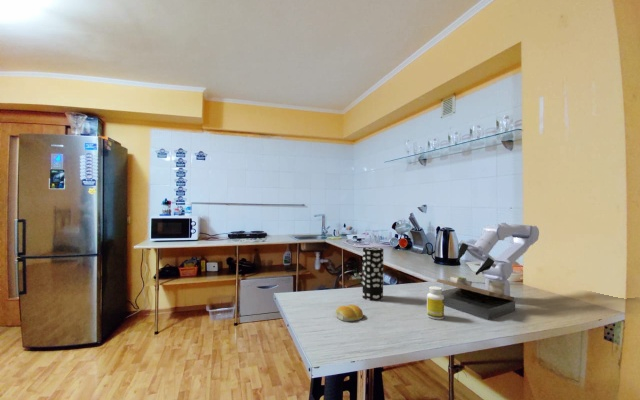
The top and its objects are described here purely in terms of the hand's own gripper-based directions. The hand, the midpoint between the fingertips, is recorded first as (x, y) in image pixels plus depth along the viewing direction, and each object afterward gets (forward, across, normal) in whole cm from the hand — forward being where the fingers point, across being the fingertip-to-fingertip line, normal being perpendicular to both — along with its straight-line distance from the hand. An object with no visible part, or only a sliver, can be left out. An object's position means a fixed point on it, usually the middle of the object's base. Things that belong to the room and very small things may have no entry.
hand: (466, 266), depth 105 cm
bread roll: (+46, -18, 0) cm, 49 cm away
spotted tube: (+28, -20, +16) cm, 38 cm away
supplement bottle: (+24, +2, +3) cm, 24 cm away
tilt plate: (+1, +6, +8) cm, 11 cm away
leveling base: (+5, +9, +12) cm, 16 cm away
